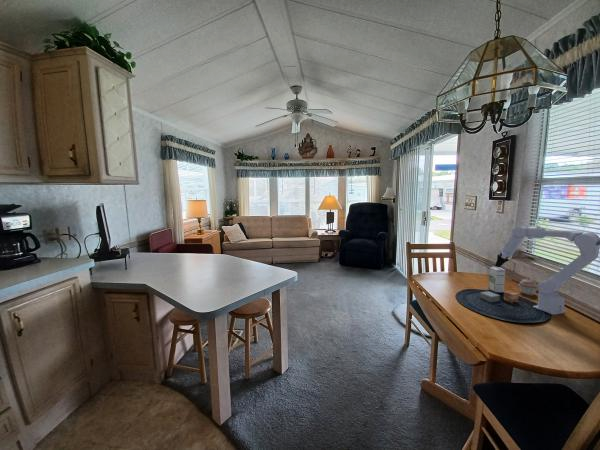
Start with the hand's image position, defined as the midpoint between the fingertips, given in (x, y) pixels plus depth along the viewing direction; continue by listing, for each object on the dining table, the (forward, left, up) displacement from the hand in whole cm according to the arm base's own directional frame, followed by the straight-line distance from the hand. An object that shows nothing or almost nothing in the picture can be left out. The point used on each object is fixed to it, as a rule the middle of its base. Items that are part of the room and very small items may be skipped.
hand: (498, 264), depth 152 cm
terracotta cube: (-9, +1, -19) cm, 21 cm away
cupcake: (-4, -19, -19) cm, 27 cm away
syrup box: (+5, -6, -19) cm, 20 cm away
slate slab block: (-4, +10, -19) cm, 22 cm away
